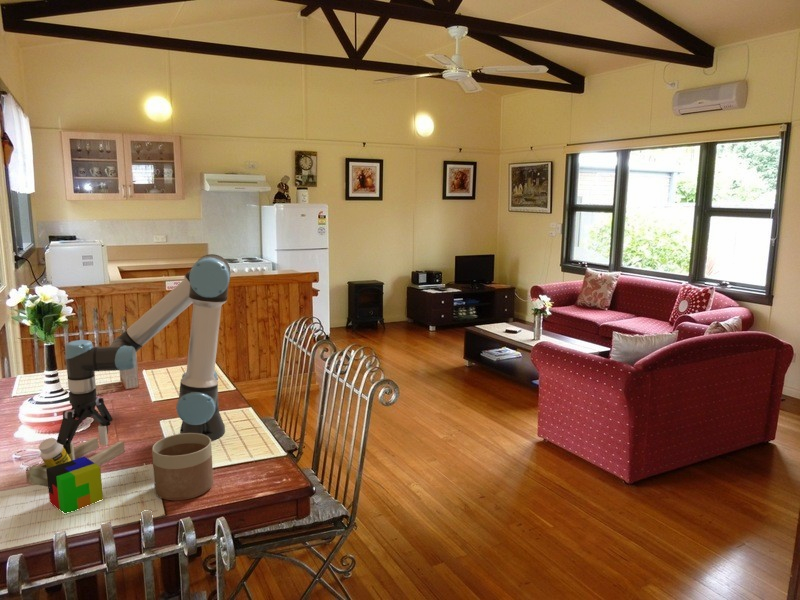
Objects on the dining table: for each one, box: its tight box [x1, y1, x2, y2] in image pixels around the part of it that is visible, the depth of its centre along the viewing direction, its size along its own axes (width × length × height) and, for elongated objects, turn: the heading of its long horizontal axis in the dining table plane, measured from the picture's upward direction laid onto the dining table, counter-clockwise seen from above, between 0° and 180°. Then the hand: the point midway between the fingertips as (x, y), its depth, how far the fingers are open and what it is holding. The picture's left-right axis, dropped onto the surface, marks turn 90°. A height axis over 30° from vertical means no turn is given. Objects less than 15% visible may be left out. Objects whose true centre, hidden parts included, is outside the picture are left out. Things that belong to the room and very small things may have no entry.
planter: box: [151, 433, 214, 501], centre depth 170 cm, size 16×16×14 cm
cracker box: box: [115, 336, 140, 391], centre depth 260 cm, size 14×6×21 cm, turn 33°
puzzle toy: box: [46, 456, 104, 513], centre depth 163 cm, size 10×10×10 cm
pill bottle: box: [38, 437, 71, 468], centre depth 177 cm, size 6×6×11 cm
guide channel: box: [25, 436, 125, 488], centre depth 184 cm, size 12×26×5 cm, turn 164°
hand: (87, 453), depth 189 cm, fingers open, 13 cm apart
